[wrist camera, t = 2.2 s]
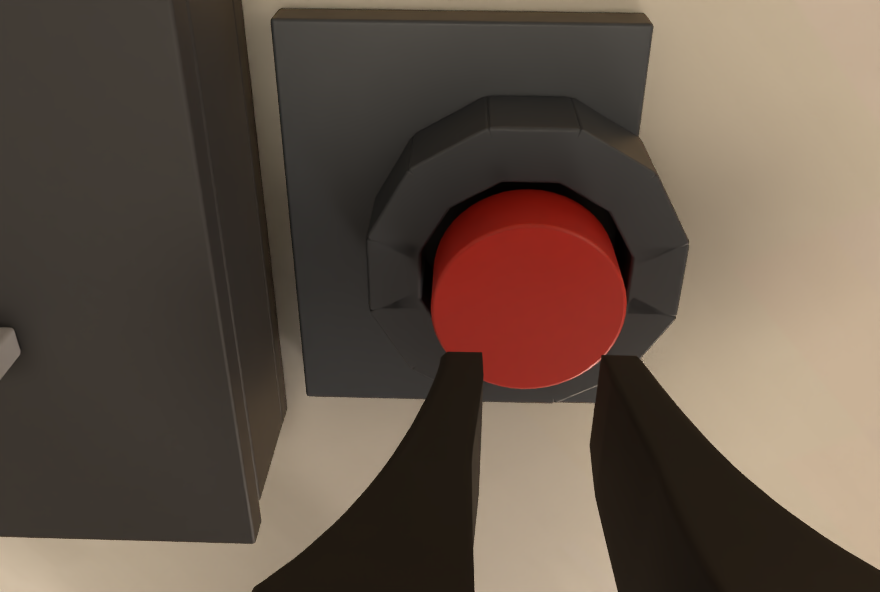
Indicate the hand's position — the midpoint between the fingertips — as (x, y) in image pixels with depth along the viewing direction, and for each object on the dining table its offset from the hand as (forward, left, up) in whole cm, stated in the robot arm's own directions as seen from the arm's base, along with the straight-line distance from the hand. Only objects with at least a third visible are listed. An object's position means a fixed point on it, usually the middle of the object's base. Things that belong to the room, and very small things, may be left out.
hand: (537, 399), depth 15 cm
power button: (0, 0, -5) cm, 5 cm away
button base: (0, +1, -7) cm, 7 cm away
